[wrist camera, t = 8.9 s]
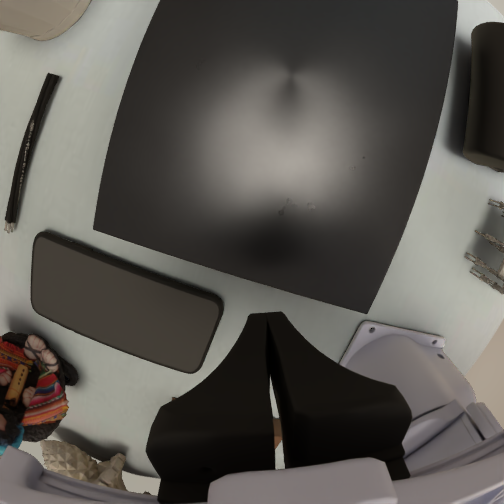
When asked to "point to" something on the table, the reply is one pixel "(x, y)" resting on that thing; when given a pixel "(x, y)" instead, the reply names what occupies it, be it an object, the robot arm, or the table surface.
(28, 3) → the cup
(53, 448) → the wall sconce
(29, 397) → the figurine
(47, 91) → the black pen
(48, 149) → the table surface
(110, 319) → the smartphone
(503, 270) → the building frame
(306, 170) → the laptop screen
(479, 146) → the end cap
